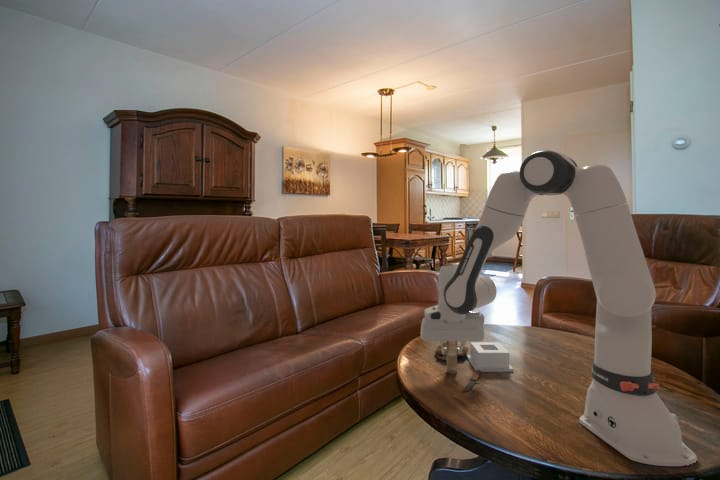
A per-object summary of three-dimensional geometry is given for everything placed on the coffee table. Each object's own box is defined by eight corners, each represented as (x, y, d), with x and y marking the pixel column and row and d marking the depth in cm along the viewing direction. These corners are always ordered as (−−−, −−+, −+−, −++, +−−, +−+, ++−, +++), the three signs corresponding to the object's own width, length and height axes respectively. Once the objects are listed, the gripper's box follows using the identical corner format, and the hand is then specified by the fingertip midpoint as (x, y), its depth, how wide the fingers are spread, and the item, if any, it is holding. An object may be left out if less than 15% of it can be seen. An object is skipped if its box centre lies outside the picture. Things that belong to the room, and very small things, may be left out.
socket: (513, 371, 119) (513, 353, 119) (476, 371, 119) (476, 353, 119) (500, 357, 131) (500, 341, 131) (466, 357, 131) (466, 341, 131)
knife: (472, 393, 104) (461, 390, 105) (472, 396, 104) (461, 393, 105) (484, 371, 118) (475, 369, 120) (484, 374, 118) (475, 372, 120)
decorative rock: (463, 367, 125) (469, 353, 138) (464, 355, 124) (470, 343, 138) (430, 360, 129) (439, 348, 143) (431, 349, 129) (440, 337, 143)
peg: (458, 373, 118) (458, 337, 117) (447, 373, 118) (447, 337, 117) (455, 369, 121) (456, 334, 121) (445, 369, 121) (445, 334, 121)
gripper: (481, 309, 121) (480, 349, 122) (419, 309, 122) (419, 349, 123) (487, 314, 115) (486, 357, 116) (422, 314, 116) (422, 357, 116)
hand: (451, 353), depth 119 cm, fingers closed on peg, 3 cm apart
